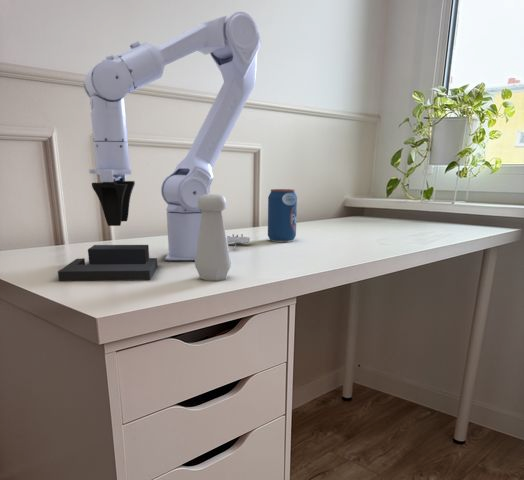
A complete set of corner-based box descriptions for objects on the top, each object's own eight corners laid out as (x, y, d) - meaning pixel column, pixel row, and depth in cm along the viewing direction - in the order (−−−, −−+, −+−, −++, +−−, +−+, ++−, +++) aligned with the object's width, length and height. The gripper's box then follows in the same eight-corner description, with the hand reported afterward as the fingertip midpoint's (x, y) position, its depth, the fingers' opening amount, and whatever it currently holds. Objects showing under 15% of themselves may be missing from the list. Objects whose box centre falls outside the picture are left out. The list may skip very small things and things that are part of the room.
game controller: (246, 242, 123) (246, 231, 122) (259, 250, 113) (259, 238, 112) (223, 243, 122) (222, 232, 121) (233, 251, 111) (233, 238, 110)
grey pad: (149, 260, 99) (148, 244, 98) (146, 265, 93) (144, 249, 92) (95, 260, 98) (94, 244, 97) (89, 266, 92) (87, 249, 92)
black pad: (157, 266, 93) (156, 258, 92) (150, 280, 82) (149, 270, 81) (77, 267, 92) (76, 258, 91) (58, 281, 80) (57, 271, 80)
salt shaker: (188, 279, 82) (185, 194, 78) (205, 273, 87) (203, 193, 83) (222, 283, 80) (220, 195, 76) (237, 276, 85) (236, 194, 81)
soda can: (298, 242, 125) (299, 190, 121) (269, 242, 124) (270, 190, 120) (292, 238, 131) (294, 189, 127) (265, 238, 130) (266, 189, 126)
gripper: (95, 143, 95) (103, 219, 100) (76, 140, 81) (86, 228, 86) (134, 144, 96) (140, 219, 100) (122, 140, 82) (129, 227, 87)
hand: (118, 223), depth 93 cm, fingers open, 7 cm apart
